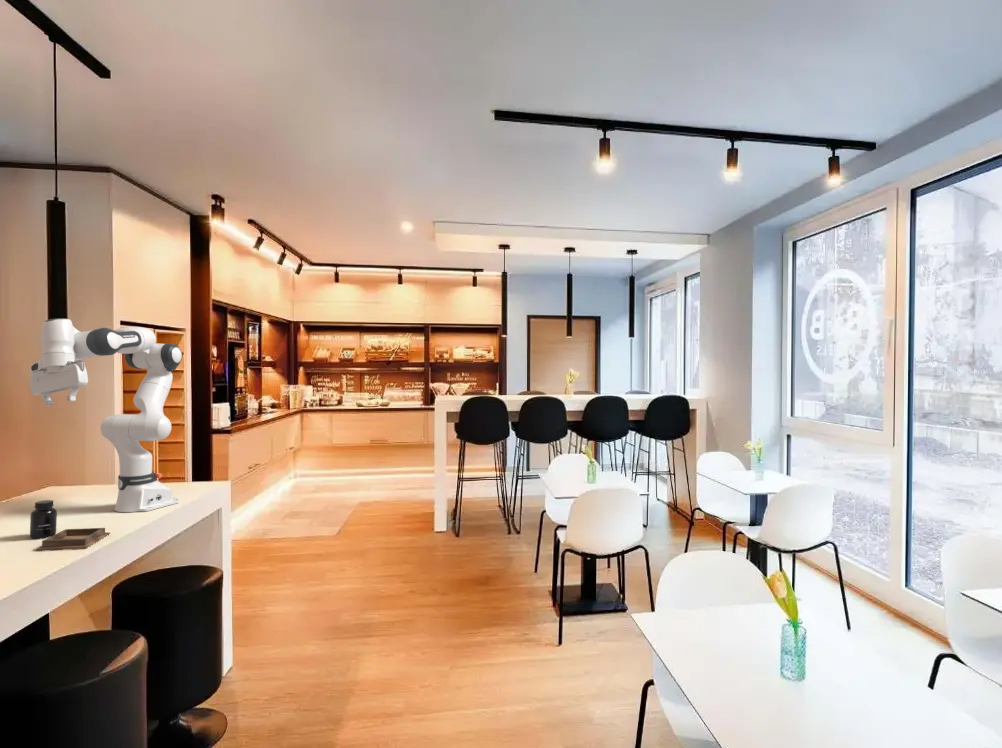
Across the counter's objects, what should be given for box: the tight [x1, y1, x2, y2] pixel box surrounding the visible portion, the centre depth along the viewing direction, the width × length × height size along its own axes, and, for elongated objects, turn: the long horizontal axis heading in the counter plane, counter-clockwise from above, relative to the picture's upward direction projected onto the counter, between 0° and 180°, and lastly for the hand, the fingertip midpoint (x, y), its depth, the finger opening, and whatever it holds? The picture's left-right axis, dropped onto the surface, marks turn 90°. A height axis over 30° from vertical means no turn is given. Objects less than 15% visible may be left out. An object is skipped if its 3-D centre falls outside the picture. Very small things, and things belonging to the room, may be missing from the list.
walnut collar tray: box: [35, 527, 111, 552], centre depth 171 cm, size 14×14×3 cm
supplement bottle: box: [29, 499, 58, 540], centre depth 176 cm, size 7×7×12 cm
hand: (60, 403), depth 172 cm, fingers open, 8 cm apart
